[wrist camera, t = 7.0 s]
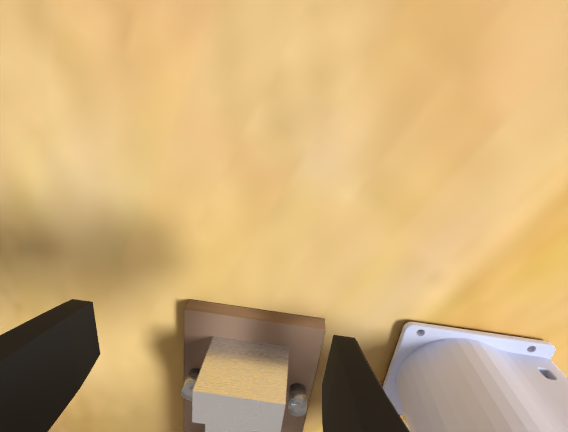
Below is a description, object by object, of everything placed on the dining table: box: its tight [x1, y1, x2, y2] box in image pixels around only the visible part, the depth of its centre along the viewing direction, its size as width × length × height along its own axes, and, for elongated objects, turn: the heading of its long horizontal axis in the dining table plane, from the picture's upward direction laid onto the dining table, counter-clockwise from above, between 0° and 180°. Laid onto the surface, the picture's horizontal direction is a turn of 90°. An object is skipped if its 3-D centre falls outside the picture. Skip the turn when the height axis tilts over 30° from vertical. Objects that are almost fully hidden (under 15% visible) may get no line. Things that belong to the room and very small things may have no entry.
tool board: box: [181, 300, 325, 432], centre depth 23 cm, size 9×20×2 cm, turn 173°
